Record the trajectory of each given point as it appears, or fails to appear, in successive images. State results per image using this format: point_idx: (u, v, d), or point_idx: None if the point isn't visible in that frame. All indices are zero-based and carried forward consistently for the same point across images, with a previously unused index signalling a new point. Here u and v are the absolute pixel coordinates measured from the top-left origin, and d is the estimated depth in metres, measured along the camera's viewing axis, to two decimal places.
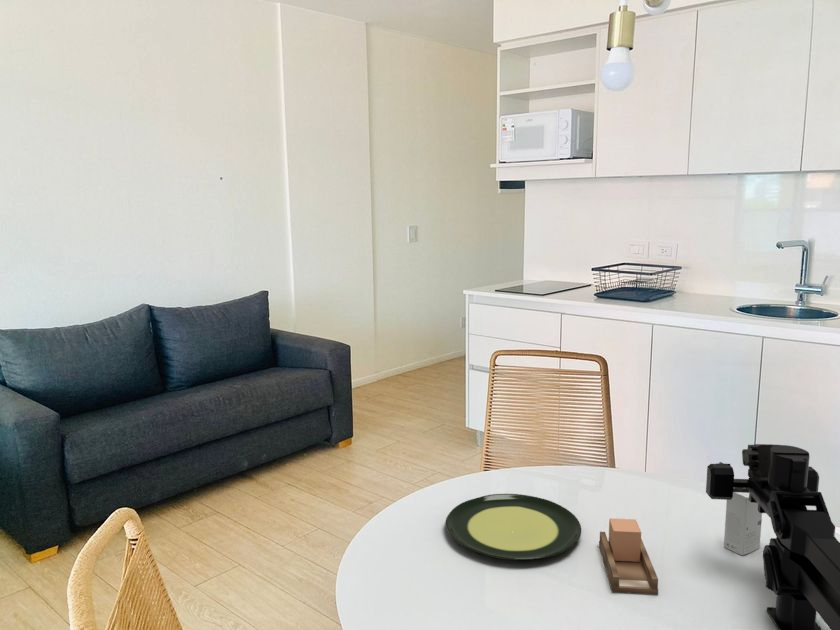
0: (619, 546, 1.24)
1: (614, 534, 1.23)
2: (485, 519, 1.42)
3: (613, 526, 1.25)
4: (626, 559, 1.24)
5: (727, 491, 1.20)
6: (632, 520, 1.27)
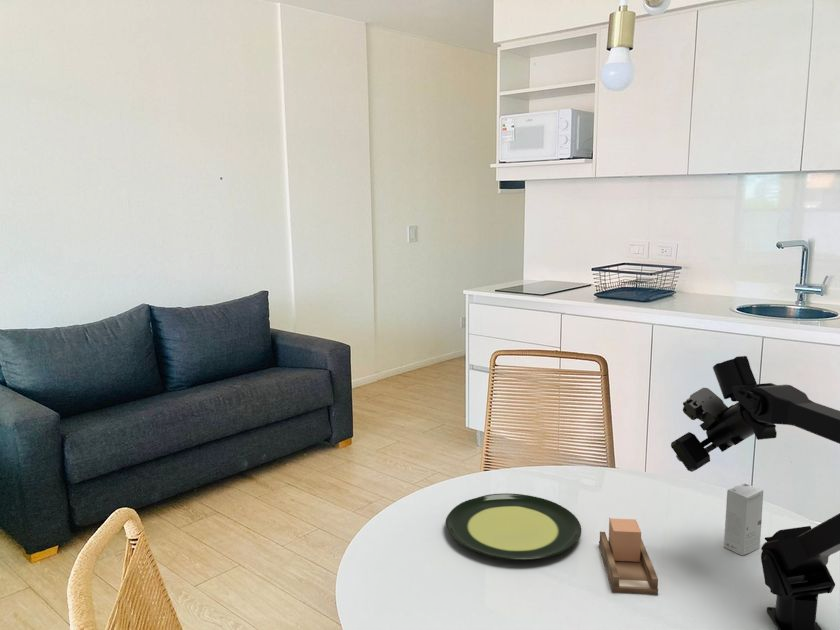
0: (619, 546, 1.24)
1: (614, 534, 1.23)
2: (485, 519, 1.42)
3: (613, 526, 1.25)
4: (626, 559, 1.24)
5: (702, 452, 1.20)
6: (632, 520, 1.27)
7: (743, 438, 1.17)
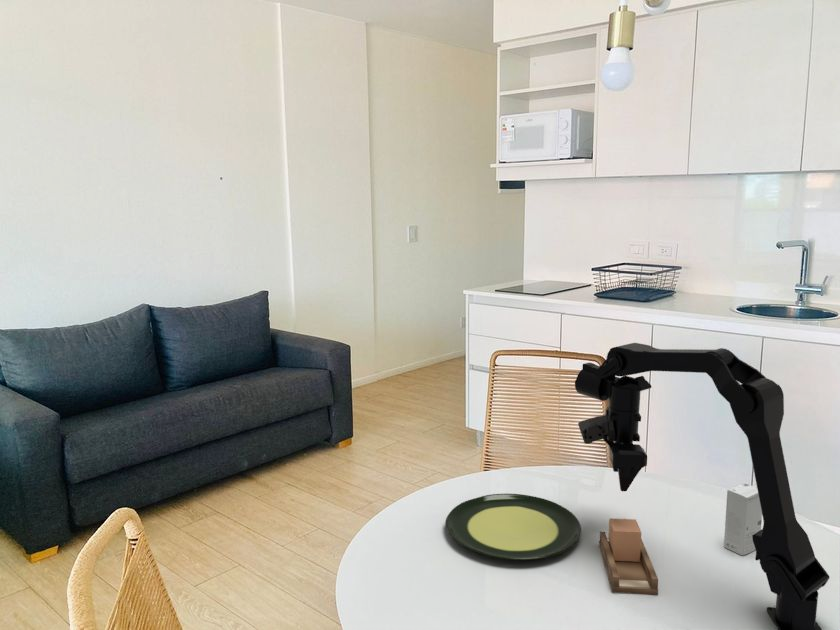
0: (619, 546, 1.24)
1: (614, 534, 1.23)
2: (485, 519, 1.42)
3: (613, 526, 1.25)
4: (626, 559, 1.24)
5: (634, 446, 1.24)
6: (632, 520, 1.27)
7: (638, 411, 1.28)
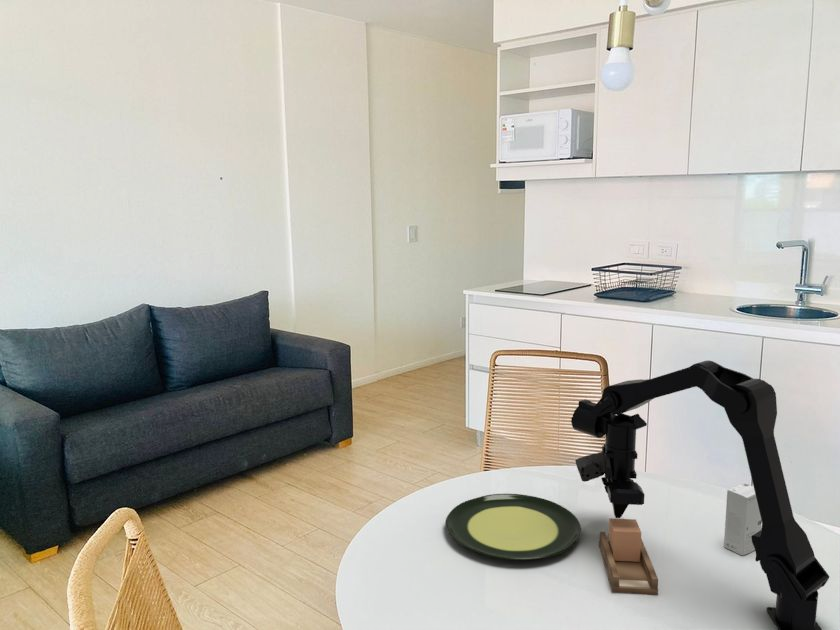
0: (619, 546, 1.24)
1: (614, 534, 1.23)
2: (485, 519, 1.42)
3: (613, 526, 1.25)
4: (626, 559, 1.24)
5: (631, 484, 1.25)
6: (632, 520, 1.27)
7: (634, 449, 1.30)
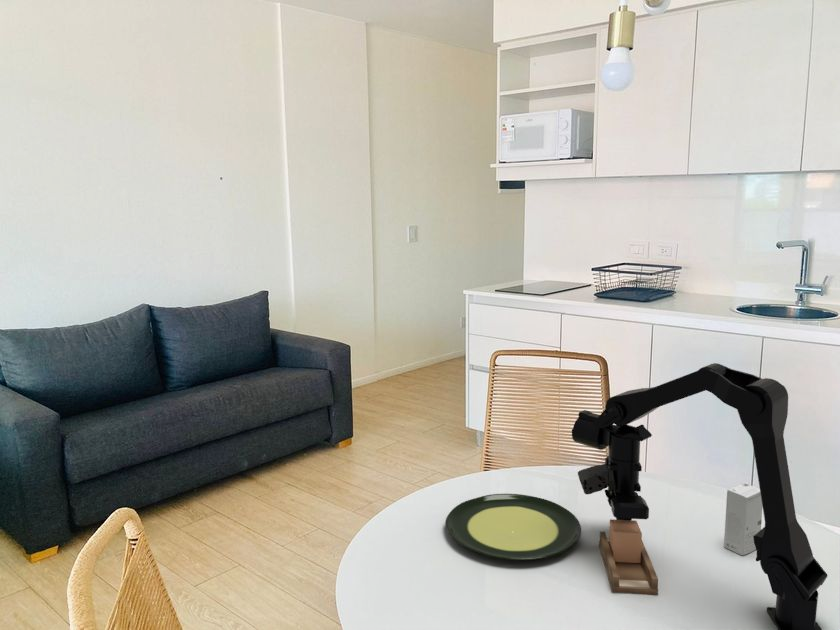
0: (619, 547, 1.23)
1: (614, 535, 1.23)
2: (485, 519, 1.42)
3: (613, 527, 1.25)
4: (626, 560, 1.24)
5: (635, 497, 1.22)
6: (632, 521, 1.27)
7: None
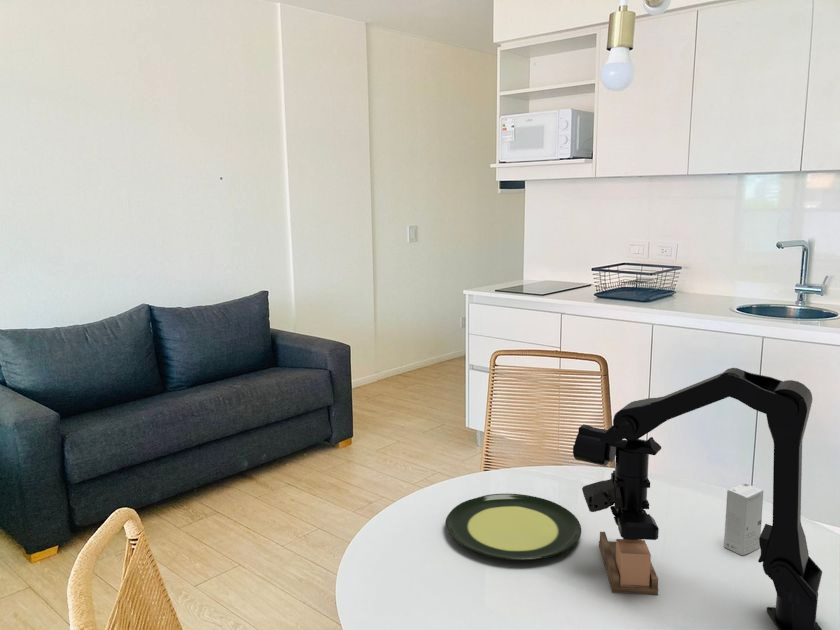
0: (627, 569, 1.16)
1: (622, 556, 1.16)
2: (485, 519, 1.42)
3: (620, 548, 1.17)
4: (634, 583, 1.16)
5: (643, 516, 1.14)
6: (640, 540, 1.20)
7: (647, 477, 1.19)
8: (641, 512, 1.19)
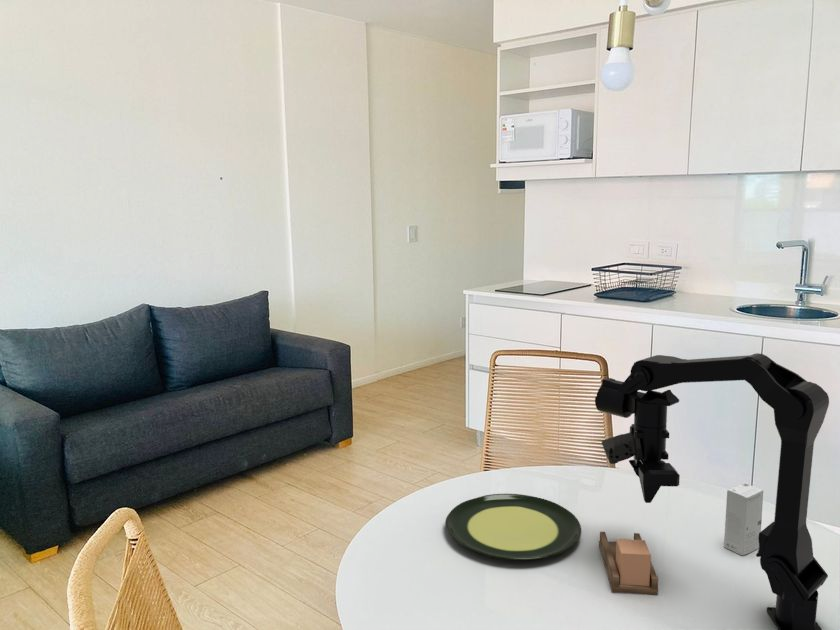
0: (627, 569, 1.16)
1: (622, 556, 1.16)
2: (485, 519, 1.42)
3: (620, 548, 1.17)
4: (634, 583, 1.16)
5: (664, 465, 1.17)
6: (640, 540, 1.20)
7: None
8: (661, 463, 1.21)
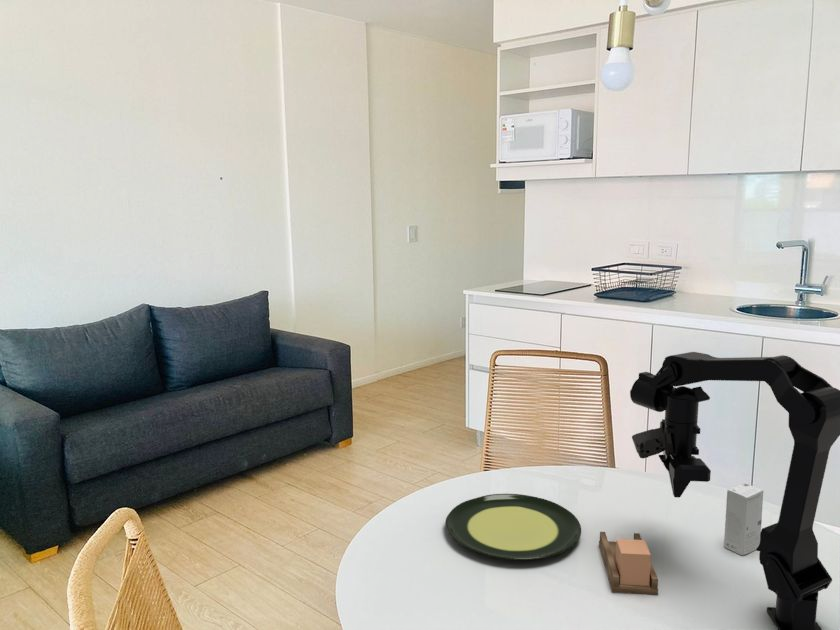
0: (627, 569, 1.16)
1: (622, 556, 1.16)
2: (485, 519, 1.42)
3: (620, 548, 1.17)
4: (634, 583, 1.16)
5: (695, 460, 1.18)
6: (640, 540, 1.20)
7: None
8: (691, 458, 1.22)
